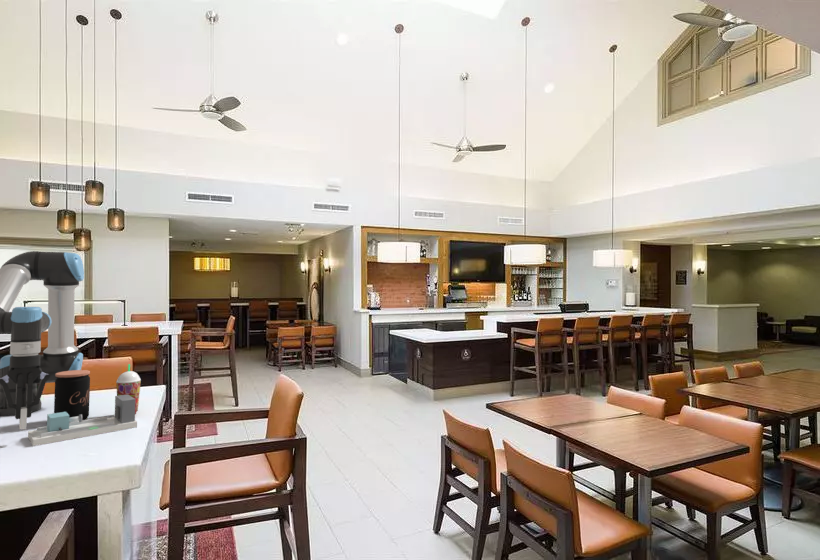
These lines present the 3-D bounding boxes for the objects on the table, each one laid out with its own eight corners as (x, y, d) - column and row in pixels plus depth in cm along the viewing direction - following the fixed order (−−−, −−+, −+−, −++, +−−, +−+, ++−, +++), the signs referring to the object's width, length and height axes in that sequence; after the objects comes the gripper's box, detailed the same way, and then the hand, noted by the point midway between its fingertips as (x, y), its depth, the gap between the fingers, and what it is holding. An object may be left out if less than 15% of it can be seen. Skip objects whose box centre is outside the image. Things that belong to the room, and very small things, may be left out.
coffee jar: (70, 425, 164) (71, 375, 164) (46, 423, 166) (47, 374, 166) (95, 417, 174) (97, 370, 175) (73, 415, 176) (74, 369, 177)
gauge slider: (46, 429, 151) (47, 414, 152) (79, 423, 158) (79, 409, 158) (51, 435, 145) (51, 420, 145) (85, 429, 152) (85, 414, 152)
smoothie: (111, 418, 173) (113, 366, 173) (119, 412, 181) (120, 362, 181) (136, 417, 175) (137, 365, 176) (142, 411, 183) (144, 362, 184)
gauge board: (28, 437, 150) (29, 407, 150) (127, 420, 171) (128, 393, 171) (32, 446, 142) (34, 414, 142) (137, 427, 163) (137, 399, 163)
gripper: (-1, 357, 138) (-4, 435, 137) (52, 354, 147) (50, 426, 147) (-3, 355, 143) (-6, 430, 142) (49, 351, 153) (46, 422, 152)
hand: (22, 428), depth 145 cm, fingers closed
